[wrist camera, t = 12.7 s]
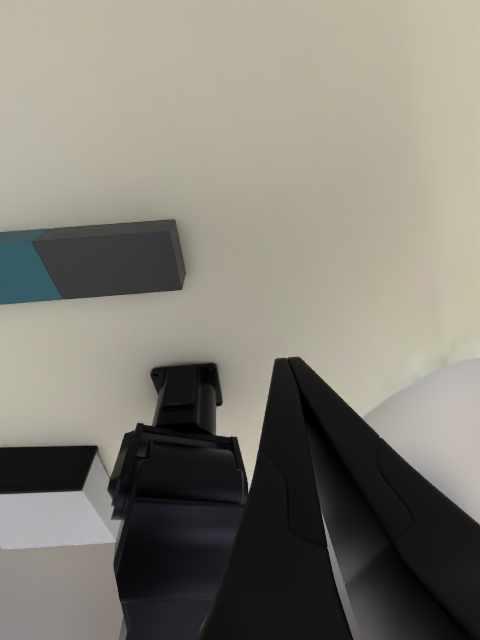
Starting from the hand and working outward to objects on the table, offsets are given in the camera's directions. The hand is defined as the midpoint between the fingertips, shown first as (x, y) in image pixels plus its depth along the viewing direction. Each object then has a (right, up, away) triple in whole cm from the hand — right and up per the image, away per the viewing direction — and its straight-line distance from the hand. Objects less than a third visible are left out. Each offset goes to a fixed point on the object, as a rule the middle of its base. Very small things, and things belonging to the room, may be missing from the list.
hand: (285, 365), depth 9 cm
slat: (-14, +6, +9) cm, 18 cm away
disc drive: (-30, -23, +30) cm, 48 cm away
